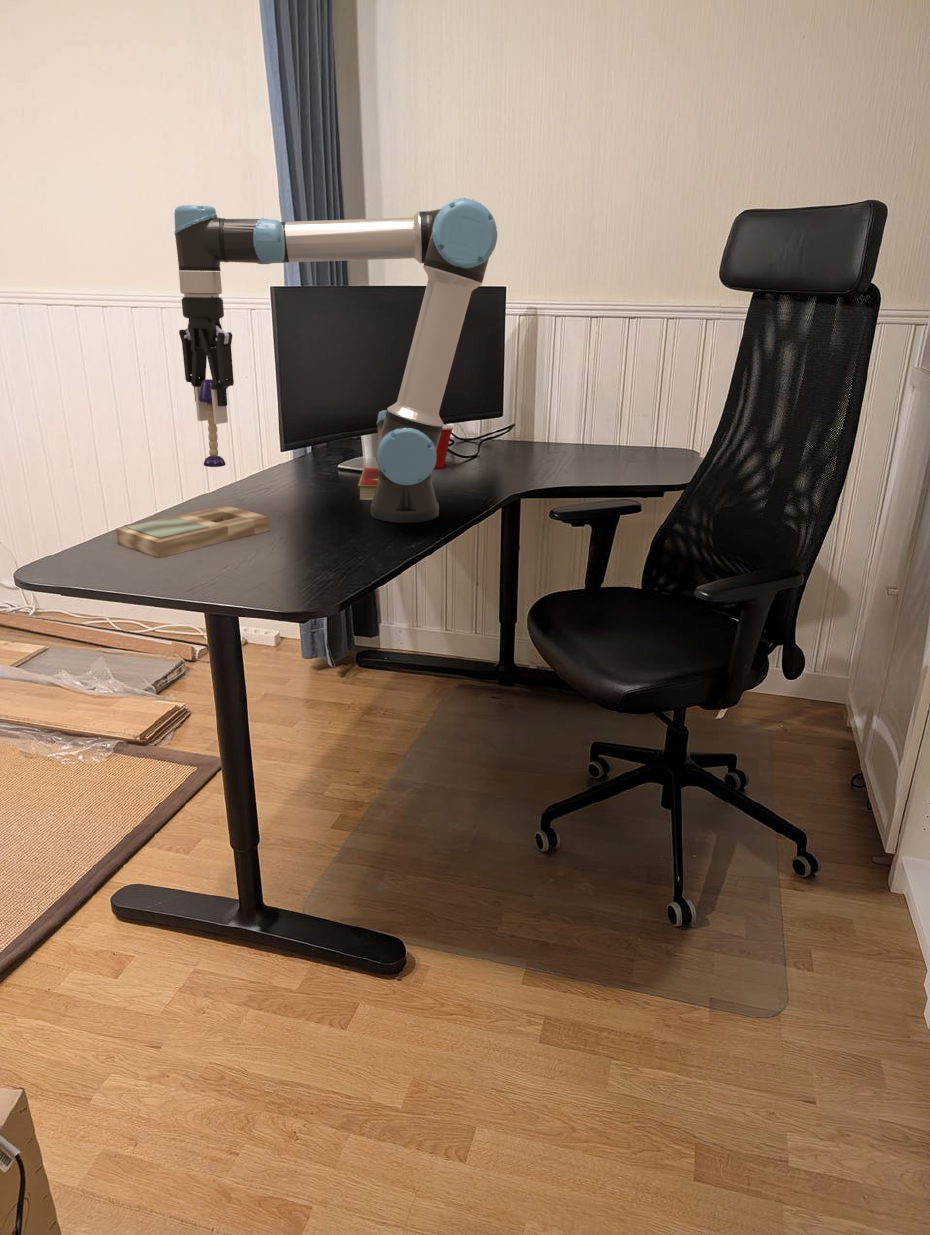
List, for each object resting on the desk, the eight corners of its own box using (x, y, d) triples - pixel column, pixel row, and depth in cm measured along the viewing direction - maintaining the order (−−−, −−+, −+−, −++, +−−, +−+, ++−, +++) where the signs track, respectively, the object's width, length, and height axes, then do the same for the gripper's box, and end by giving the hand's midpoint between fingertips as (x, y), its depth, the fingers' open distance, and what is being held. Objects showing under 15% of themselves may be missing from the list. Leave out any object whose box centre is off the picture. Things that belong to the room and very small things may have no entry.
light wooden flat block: (269, 530, 186) (268, 515, 184) (159, 557, 167) (157, 540, 165) (227, 518, 194) (225, 503, 193) (117, 543, 175) (115, 527, 174)
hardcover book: (410, 483, 233) (410, 467, 231) (408, 502, 213) (408, 485, 212) (364, 482, 232) (363, 466, 231) (358, 501, 213) (357, 484, 211)
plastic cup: (461, 467, 252) (462, 423, 247) (437, 472, 243) (437, 428, 239) (431, 461, 258) (432, 419, 253) (407, 467, 250) (406, 423, 245)
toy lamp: (225, 462, 183) (218, 378, 177) (231, 466, 179) (224, 380, 173) (201, 464, 181) (193, 379, 175) (207, 468, 177) (199, 381, 171)
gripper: (247, 297, 166) (256, 424, 174) (190, 294, 176) (201, 415, 185) (214, 297, 160) (224, 428, 169) (157, 295, 171) (169, 419, 179)
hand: (212, 421), depth 177 cm, fingers closed on toy lamp, 5 cm apart
